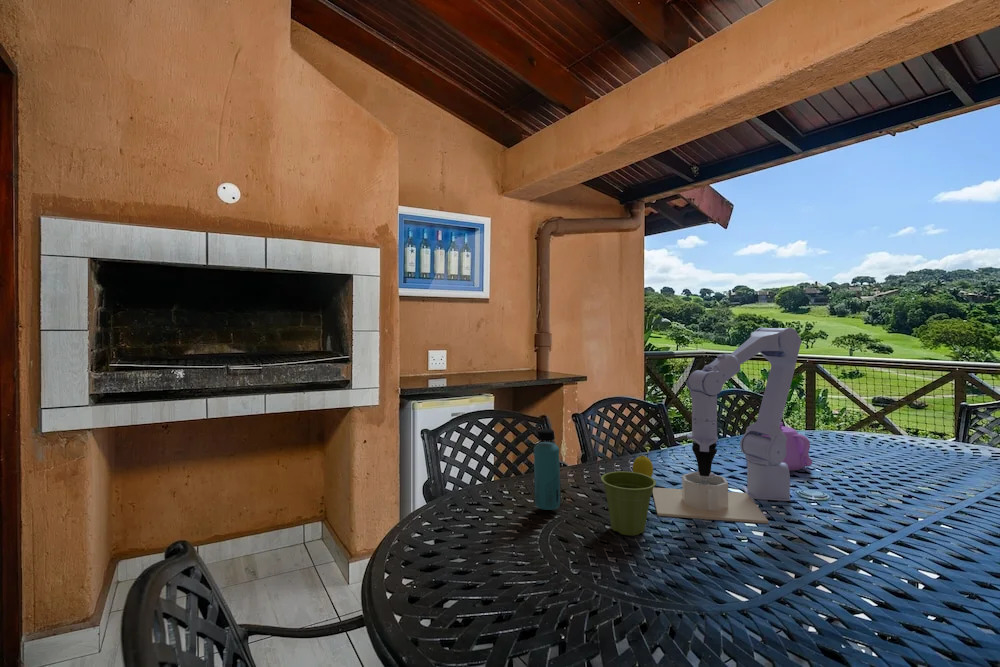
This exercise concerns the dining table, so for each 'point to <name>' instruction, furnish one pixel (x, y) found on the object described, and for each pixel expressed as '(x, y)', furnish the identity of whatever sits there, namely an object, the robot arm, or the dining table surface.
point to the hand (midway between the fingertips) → (704, 473)
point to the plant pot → (628, 500)
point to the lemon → (643, 466)
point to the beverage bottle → (546, 472)
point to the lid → (704, 478)
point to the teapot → (795, 449)
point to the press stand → (706, 501)
